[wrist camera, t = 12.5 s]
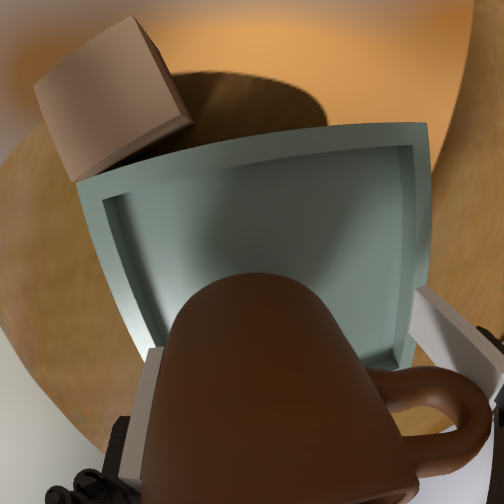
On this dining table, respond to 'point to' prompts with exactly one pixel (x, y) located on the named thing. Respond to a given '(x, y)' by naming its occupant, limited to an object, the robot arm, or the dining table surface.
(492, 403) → the jar
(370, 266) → the tray
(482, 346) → the robot arm
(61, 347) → the dining table surface
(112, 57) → the block
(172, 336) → the mug
